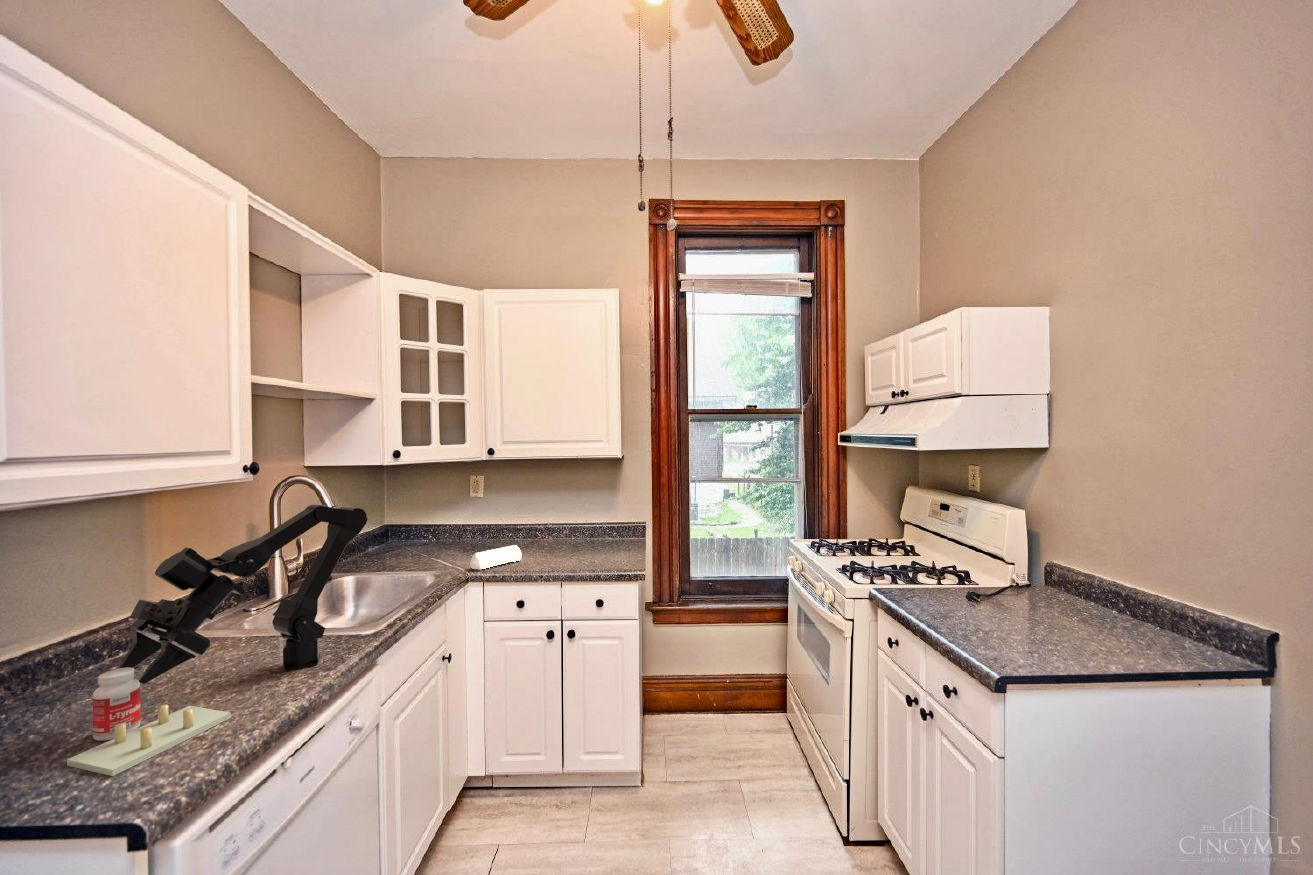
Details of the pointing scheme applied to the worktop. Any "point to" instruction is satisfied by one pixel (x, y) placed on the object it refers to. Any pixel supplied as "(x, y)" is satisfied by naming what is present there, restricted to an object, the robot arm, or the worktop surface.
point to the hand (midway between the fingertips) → (129, 677)
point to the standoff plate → (147, 739)
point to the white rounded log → (495, 557)
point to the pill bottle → (116, 703)
